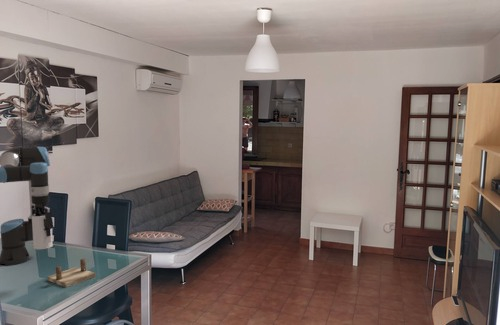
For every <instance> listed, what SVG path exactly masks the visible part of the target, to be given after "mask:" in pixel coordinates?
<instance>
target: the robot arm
mask: <svg viewBox="0 0 500 325" xmlns="http://www.w3.org/2000/svg"><path fill="white" fill-rule="evenodd" d="M50 166H51V164H50V158H49V152H48V149H47V148H46V147H45V146H23V147H22V146H21V147H18V146H17V147H13V148H9V149H7V150H4V152H2V153H1V154H0V183H3V184H6V183H19V182H28V192H29V193H28V194H29V207H30V208H29V209H30V214H29V216H28V217H27V220H24V219H23V218H15V219H11V220H7V221H5V222H3V223H1V225H0V243H1V245H0V246H1V250H0V263H1V264H5V265H4V266H12V265H11V264H15V265H19V263H20V264H23V263H25V261H26V262H28V261H29V260H30V259H29V258H30V253H29V251H28V249H27V246H26V242H33V228H32V215H33V214H35V216H45V218H46V219H44V227H45V229H44V239H45V243H49V242H51V231H50V229H51V228H52V233H54V232H53V231H54V218H53V216H52V208H51V207H48V203H49V202H50V195H49V193H50V186H49V185H50V184H49V168H48V167H50ZM27 260H28V261H27ZM22 262H23V263H22ZM1 264H0V265H1Z"/></svg>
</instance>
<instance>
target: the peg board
mask: <svg viewBox="0 0 500 325" xmlns="http://www.w3.org/2000/svg"><path fill="white" fill-rule="evenodd" d="M79 261H80V267H78V266H75V267H72V268H69V269H67V270H63V271H62V265H61V266H60V265H59V266H56V267H55V274H51V275H47V281H48V282H52V283H54V284H56V285H59V286H61V287H64V288H69V287H72V286H73V285H76V284H80V283H82V282H85V281H88V280H90V279H94V278H95V277H96V272H93V271H90V270H87V267H86V258H81V259H79Z"/></svg>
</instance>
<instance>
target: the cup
mask: <svg viewBox="0 0 500 325" xmlns="http://www.w3.org/2000/svg"><path fill="white" fill-rule="evenodd" d="M44 219H46V218H45V216H35V214H33V215H32V228H33V241H32V243H33V249H34V250H45V249H50V248H52V247H53V246H54V244H53V232H52V228H51V229H50V231H51V242H49V243H45V239H44V229H45V227H44Z"/></svg>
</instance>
